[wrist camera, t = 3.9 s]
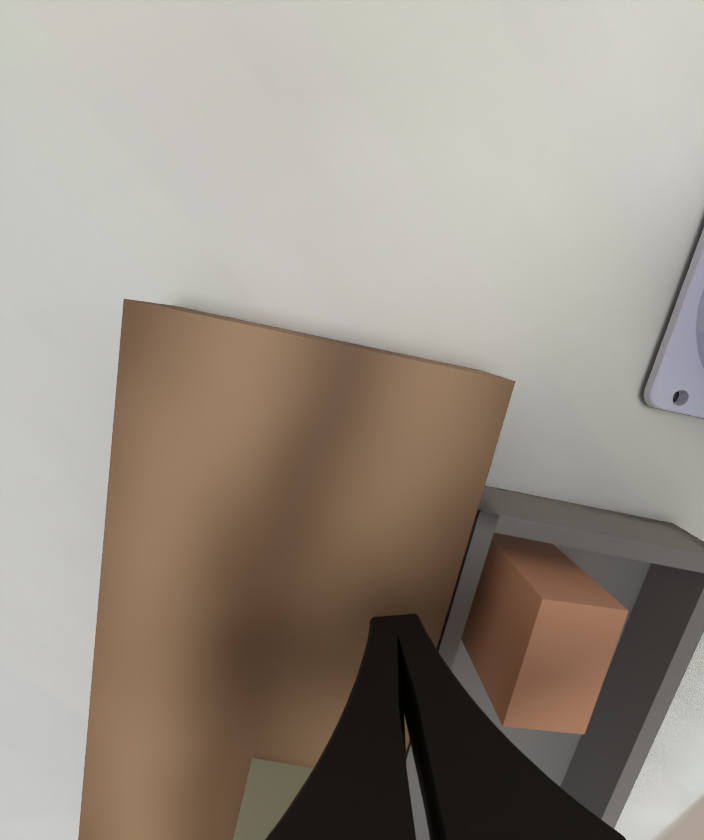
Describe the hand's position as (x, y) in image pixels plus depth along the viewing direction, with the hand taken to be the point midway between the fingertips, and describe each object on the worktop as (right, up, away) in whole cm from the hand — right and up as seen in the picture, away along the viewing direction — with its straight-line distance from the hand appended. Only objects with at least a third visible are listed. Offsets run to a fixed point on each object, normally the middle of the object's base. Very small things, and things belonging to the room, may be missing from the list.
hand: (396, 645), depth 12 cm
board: (-5, -2, +4) cm, 7 cm away
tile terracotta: (+3, 0, +1) cm, 3 cm away
